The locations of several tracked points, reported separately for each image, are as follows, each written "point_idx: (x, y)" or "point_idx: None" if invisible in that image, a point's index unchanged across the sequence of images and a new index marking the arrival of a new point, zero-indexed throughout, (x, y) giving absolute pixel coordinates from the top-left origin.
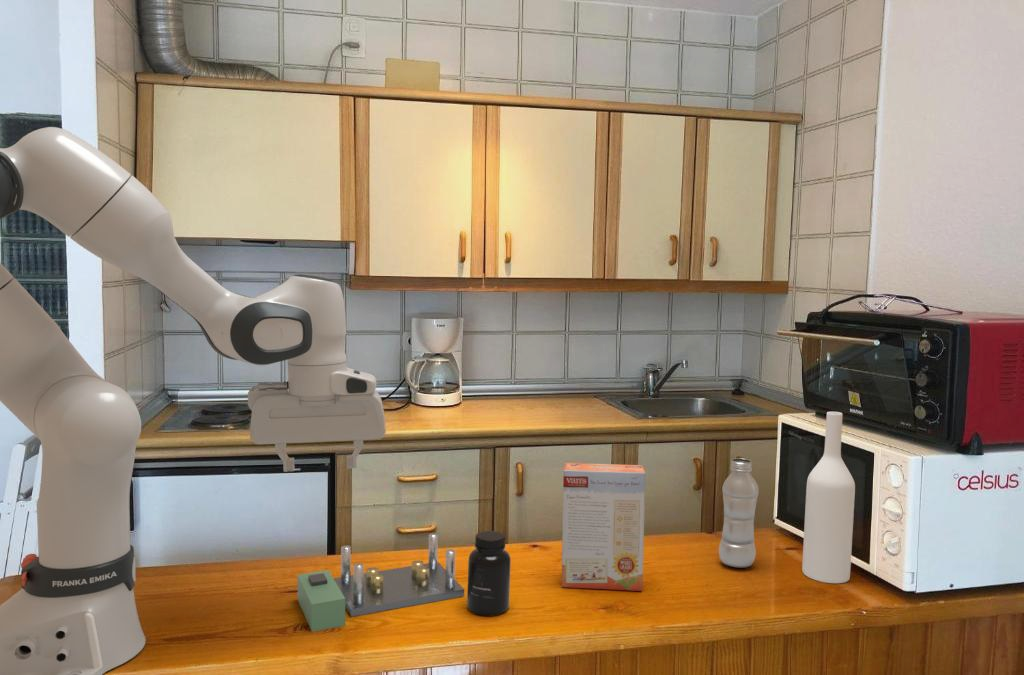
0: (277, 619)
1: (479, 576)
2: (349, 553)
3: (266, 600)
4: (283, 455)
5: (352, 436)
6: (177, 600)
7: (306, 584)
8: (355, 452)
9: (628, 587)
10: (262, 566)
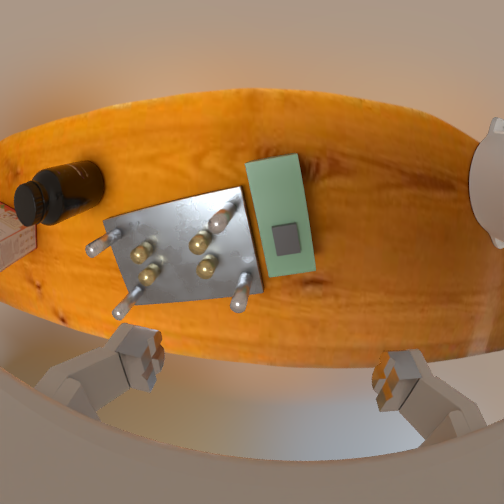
0: (340, 201)
1: (64, 170)
2: (233, 296)
3: (351, 262)
4: (441, 393)
5: (43, 414)
6: (438, 284)
7: (304, 231)
8: (91, 362)
9: (3, 204)
10: (344, 353)
